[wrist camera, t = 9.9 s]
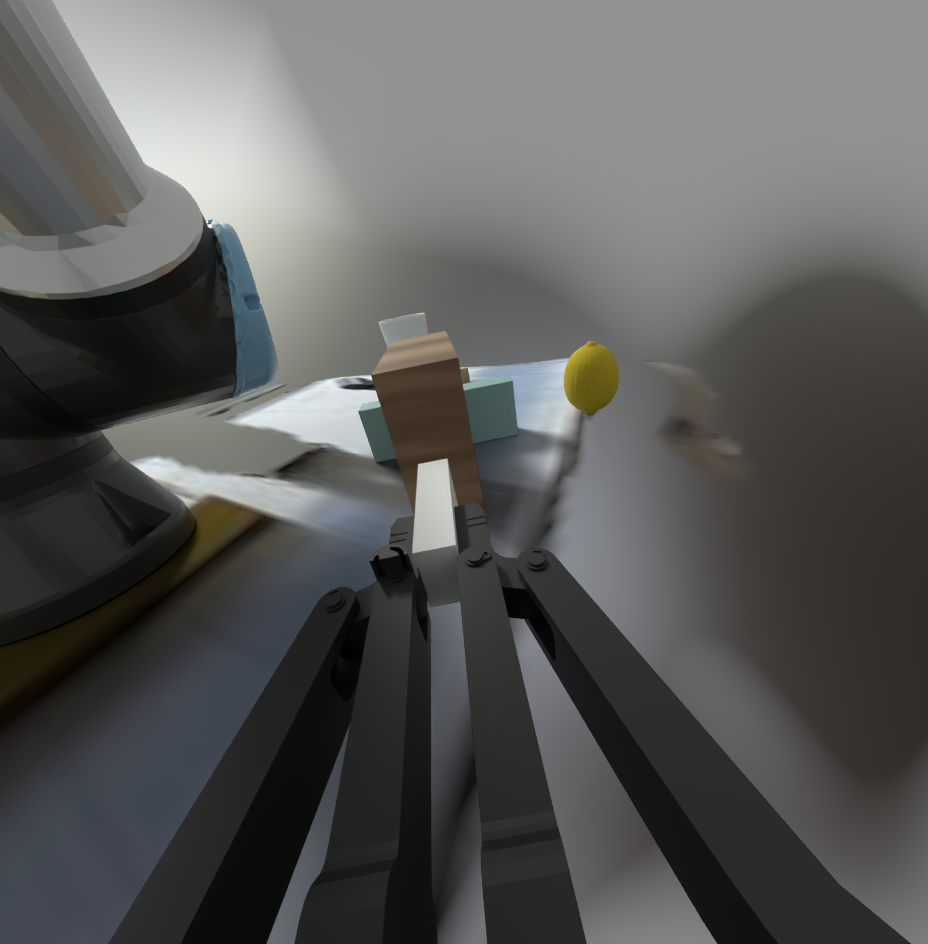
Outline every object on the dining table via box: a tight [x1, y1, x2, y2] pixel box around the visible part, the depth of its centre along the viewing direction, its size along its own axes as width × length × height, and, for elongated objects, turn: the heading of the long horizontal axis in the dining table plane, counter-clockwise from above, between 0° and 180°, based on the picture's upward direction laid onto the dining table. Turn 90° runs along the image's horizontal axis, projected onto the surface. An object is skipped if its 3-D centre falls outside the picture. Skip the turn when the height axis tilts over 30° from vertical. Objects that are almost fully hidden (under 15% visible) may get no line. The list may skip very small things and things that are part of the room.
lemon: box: [564, 341, 619, 415], centre depth 37 cm, size 6×6×8 cm
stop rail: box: [358, 375, 518, 462], centre depth 37 cm, size 2×16×6 cm, turn 94°
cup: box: [379, 313, 427, 347], centre depth 61 cm, size 8×8×12 cm
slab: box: [371, 331, 487, 524], centre depth 28 cm, size 14×5×12 cm, turn 6°
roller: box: [460, 368, 470, 384], centre depth 58 cm, size 10×3×3 cm
